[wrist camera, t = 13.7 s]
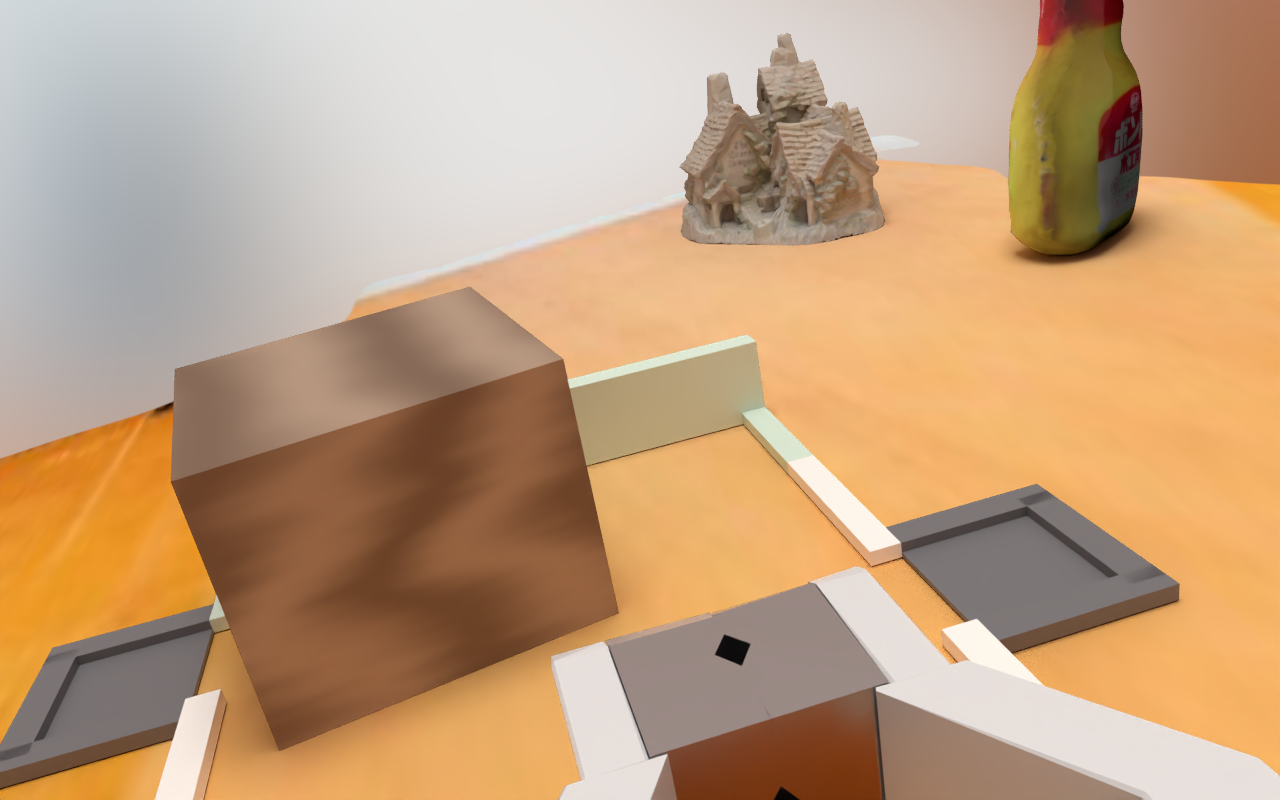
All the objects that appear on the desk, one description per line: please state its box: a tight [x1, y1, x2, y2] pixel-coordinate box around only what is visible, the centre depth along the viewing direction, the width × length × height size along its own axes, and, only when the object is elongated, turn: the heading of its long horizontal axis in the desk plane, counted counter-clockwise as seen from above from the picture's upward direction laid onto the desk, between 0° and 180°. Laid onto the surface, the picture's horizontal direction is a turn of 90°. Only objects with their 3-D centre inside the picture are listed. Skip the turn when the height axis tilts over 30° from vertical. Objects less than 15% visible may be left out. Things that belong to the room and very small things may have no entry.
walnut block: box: [171, 287, 619, 751], centre depth 37 cm, size 12×12×10 cm
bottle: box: [1008, 0, 1142, 255], centre depth 61 cm, size 12×6×20 cm, turn 130°
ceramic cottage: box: [680, 33, 885, 246], centre depth 80 cm, size 16×16×15 cm
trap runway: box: [0, 335, 1179, 800], centre depth 32 cm, size 38×32×4 cm
